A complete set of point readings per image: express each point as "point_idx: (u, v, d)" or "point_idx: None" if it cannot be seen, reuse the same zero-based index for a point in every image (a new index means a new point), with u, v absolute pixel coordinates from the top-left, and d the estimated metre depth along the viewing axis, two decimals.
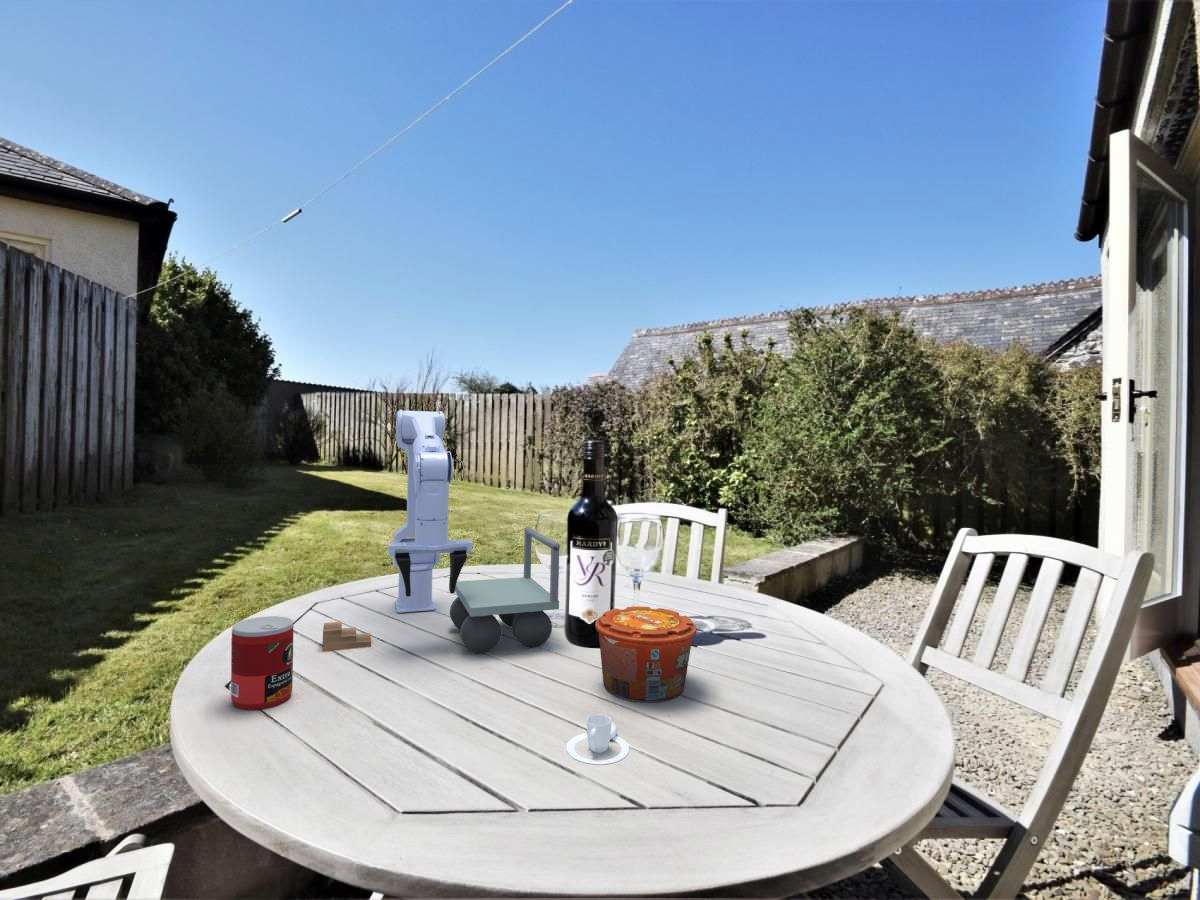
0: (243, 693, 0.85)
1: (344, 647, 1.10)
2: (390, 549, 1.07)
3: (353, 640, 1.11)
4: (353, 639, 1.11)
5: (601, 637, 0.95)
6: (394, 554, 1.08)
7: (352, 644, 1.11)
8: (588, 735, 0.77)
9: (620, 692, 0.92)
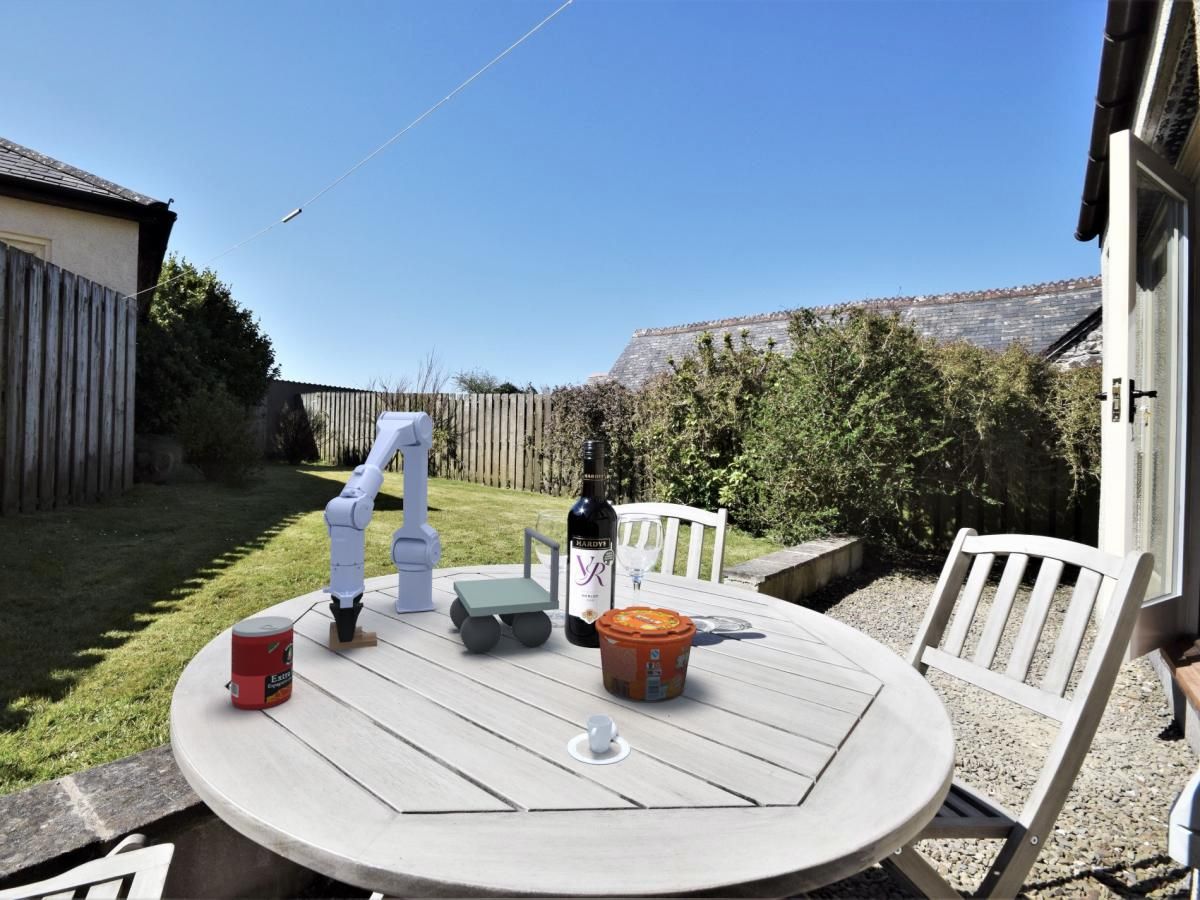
0: (243, 693, 0.85)
1: (350, 646, 1.11)
2: None
3: (359, 639, 1.11)
4: (359, 638, 1.11)
5: (601, 637, 0.95)
6: None
7: (358, 643, 1.11)
8: (589, 735, 0.77)
9: (620, 692, 0.92)
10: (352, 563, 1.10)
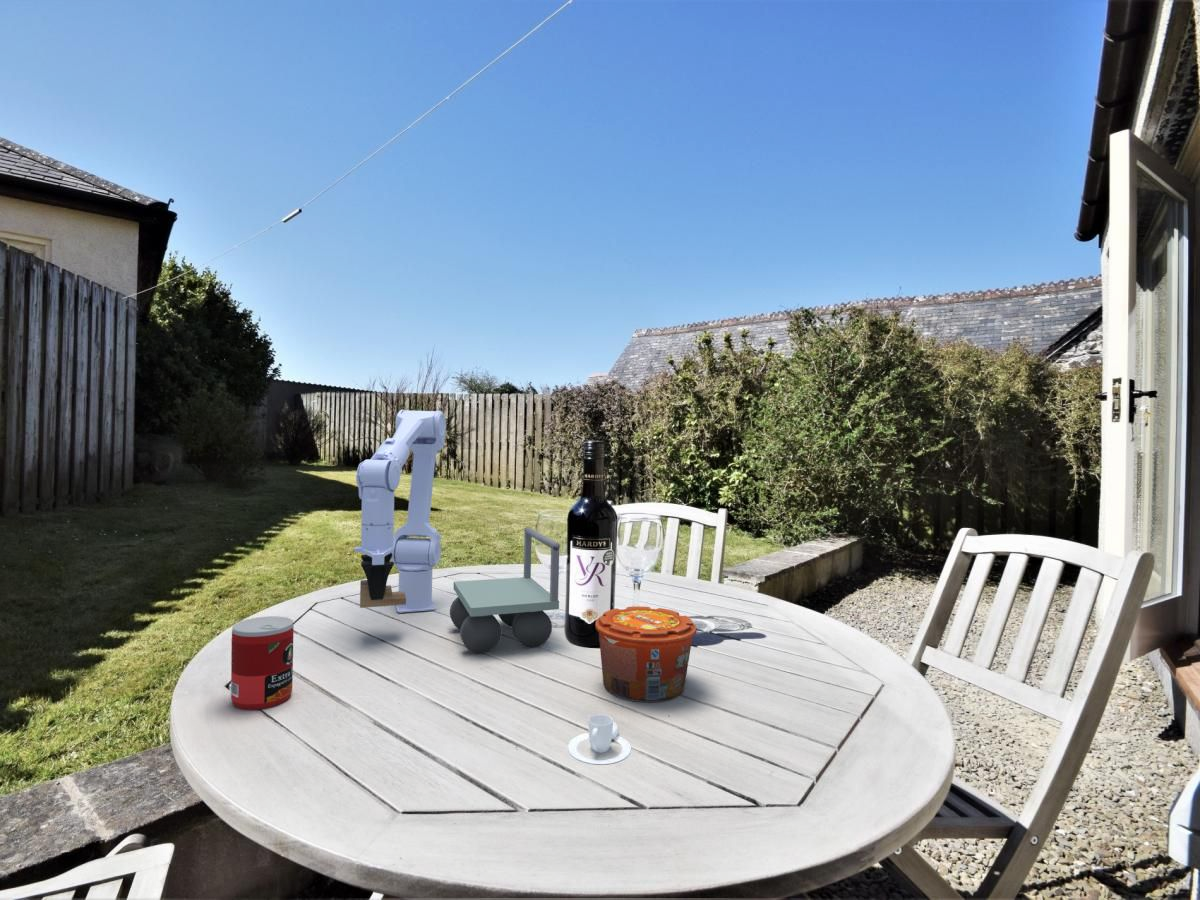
0: (243, 693, 0.85)
1: (380, 603, 1.14)
2: None
3: (389, 596, 1.14)
4: (389, 595, 1.14)
5: (601, 637, 0.95)
6: None
7: (388, 600, 1.14)
8: (590, 735, 0.77)
9: (620, 692, 0.92)
10: (385, 523, 1.13)
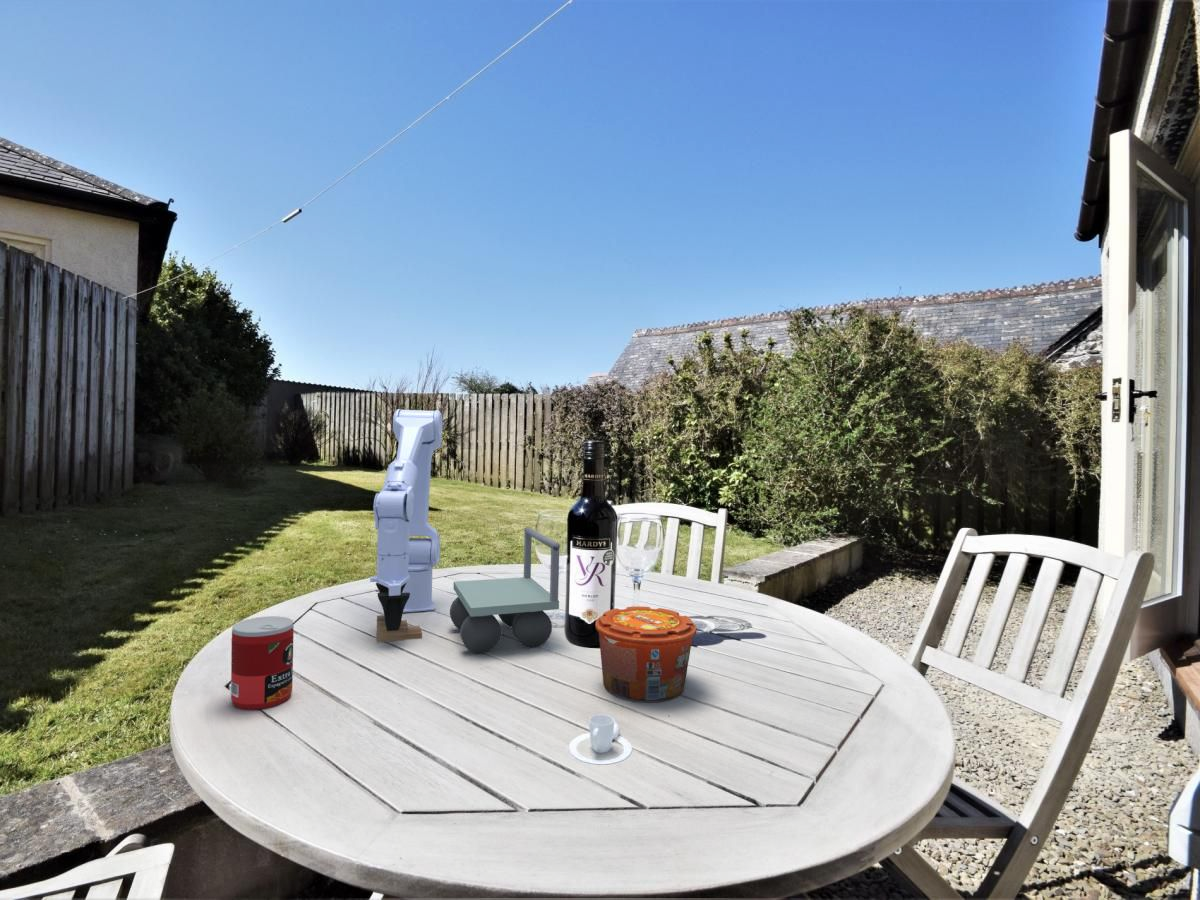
0: (243, 693, 0.85)
1: (397, 638, 1.16)
2: None
3: (405, 632, 1.16)
4: (405, 631, 1.16)
5: (601, 637, 0.95)
6: None
7: (404, 635, 1.16)
8: (591, 735, 0.77)
9: (620, 692, 0.92)
10: (402, 553, 1.15)
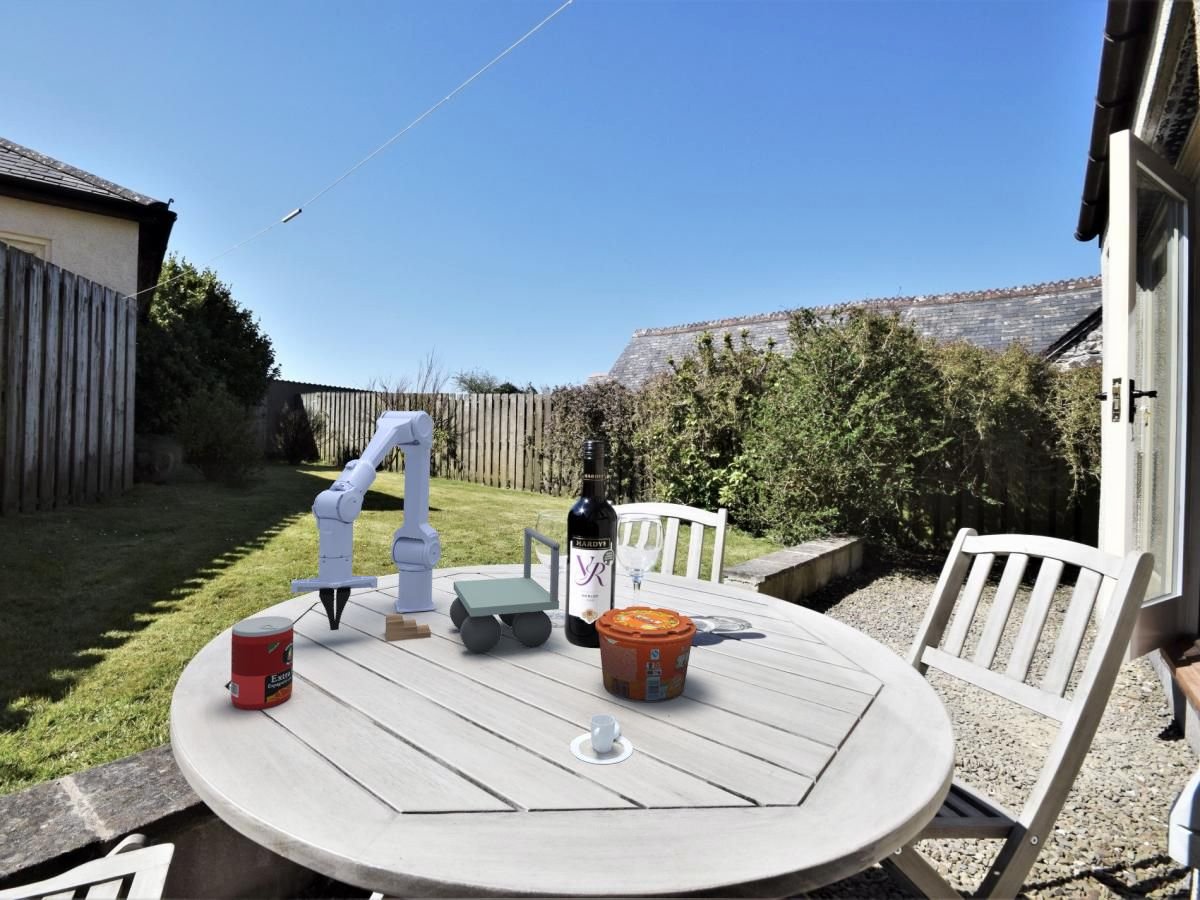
0: (243, 693, 0.85)
1: (406, 637, 1.16)
2: (292, 586, 1.10)
3: (414, 631, 1.17)
4: (414, 630, 1.17)
5: (601, 637, 0.95)
6: (296, 591, 1.10)
7: (413, 634, 1.17)
8: (592, 735, 0.77)
9: (620, 692, 0.92)
10: (338, 555, 1.11)
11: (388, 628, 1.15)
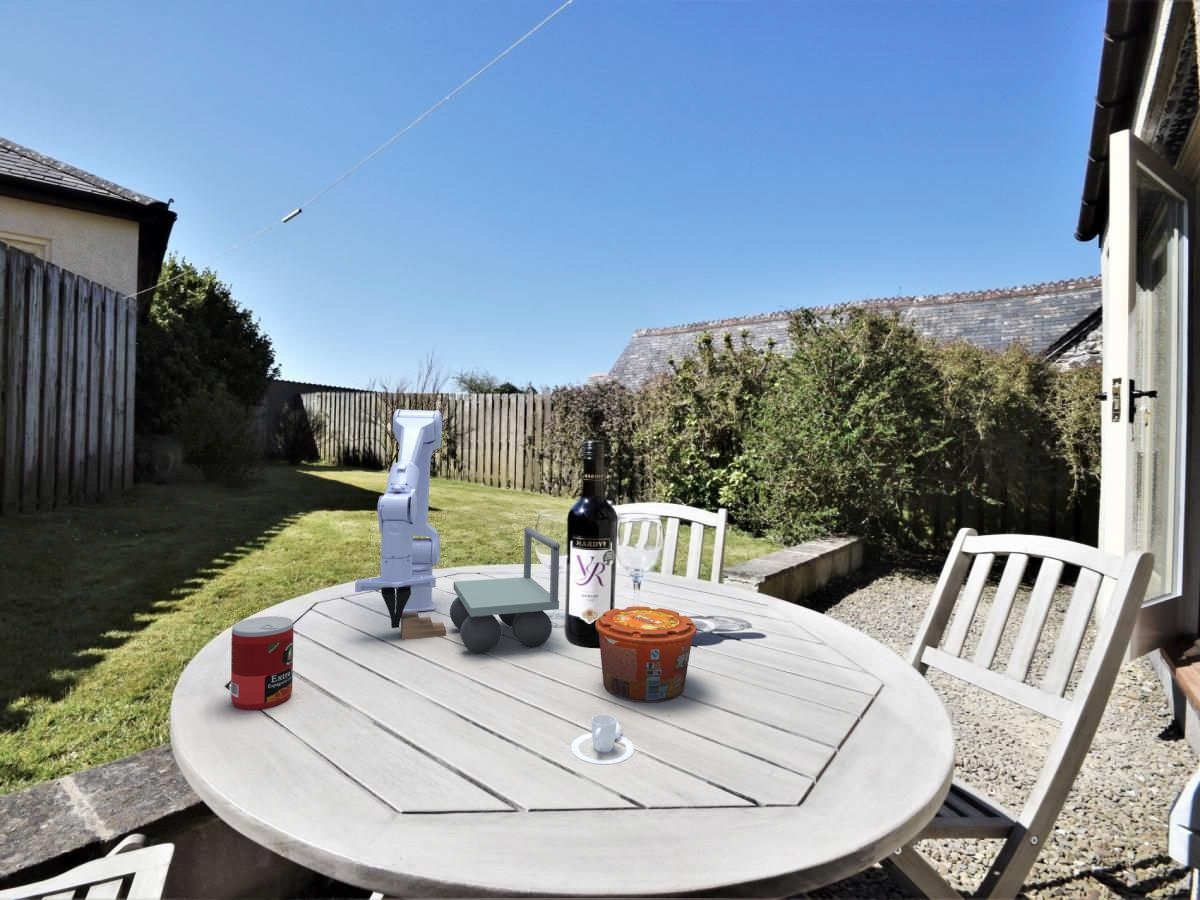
0: (243, 693, 0.85)
1: (422, 635, 1.17)
2: (356, 586, 1.14)
3: (430, 628, 1.18)
4: (430, 627, 1.18)
5: (601, 637, 0.95)
6: (360, 590, 1.14)
7: (429, 632, 1.18)
8: (593, 735, 0.77)
9: (620, 692, 0.92)
10: (406, 555, 1.16)
11: (404, 626, 1.16)
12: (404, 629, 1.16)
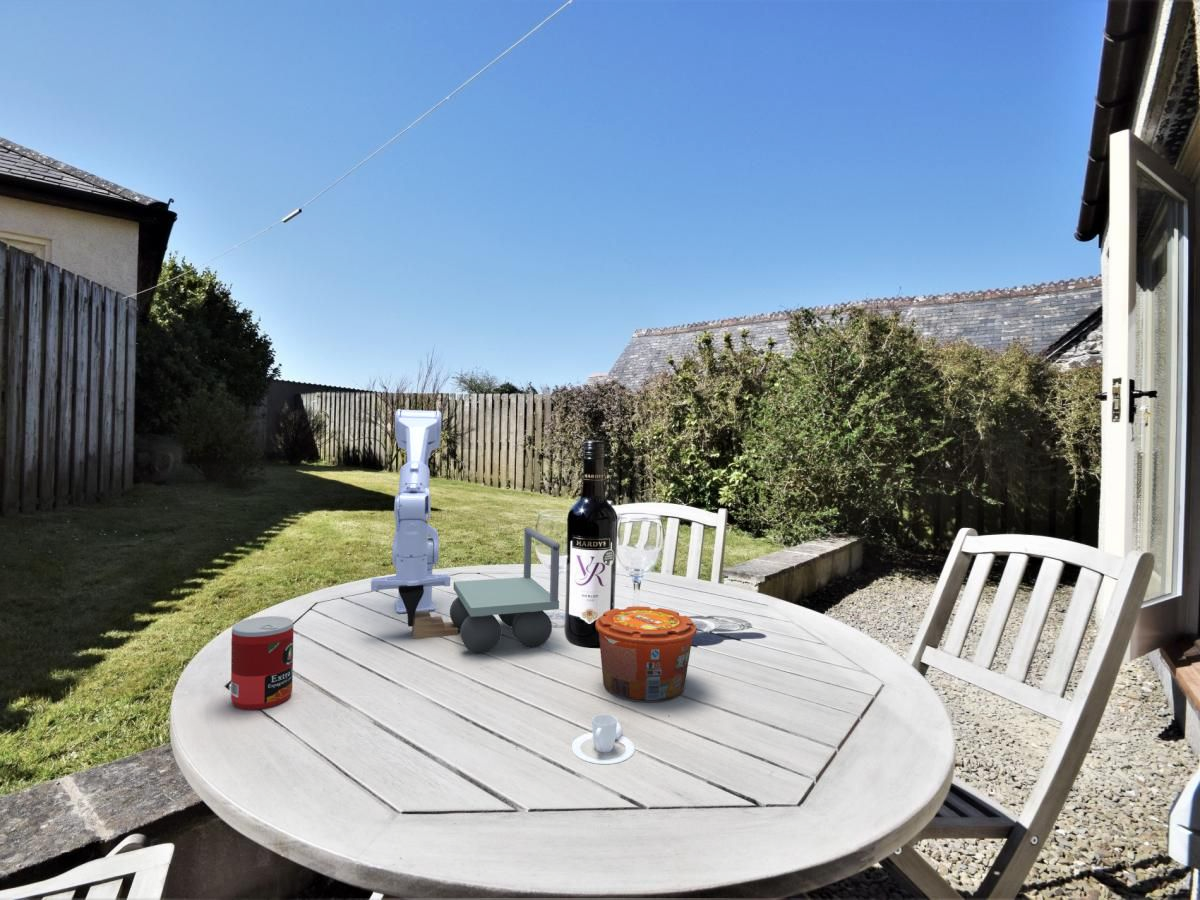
0: (243, 693, 0.85)
1: (433, 634, 1.18)
2: (372, 584, 1.15)
3: (441, 627, 1.18)
4: (441, 627, 1.18)
5: (601, 637, 0.95)
6: (376, 589, 1.15)
7: (440, 631, 1.18)
8: (593, 735, 0.77)
9: (620, 692, 0.92)
10: (423, 554, 1.17)
11: (416, 624, 1.17)
12: (416, 628, 1.17)
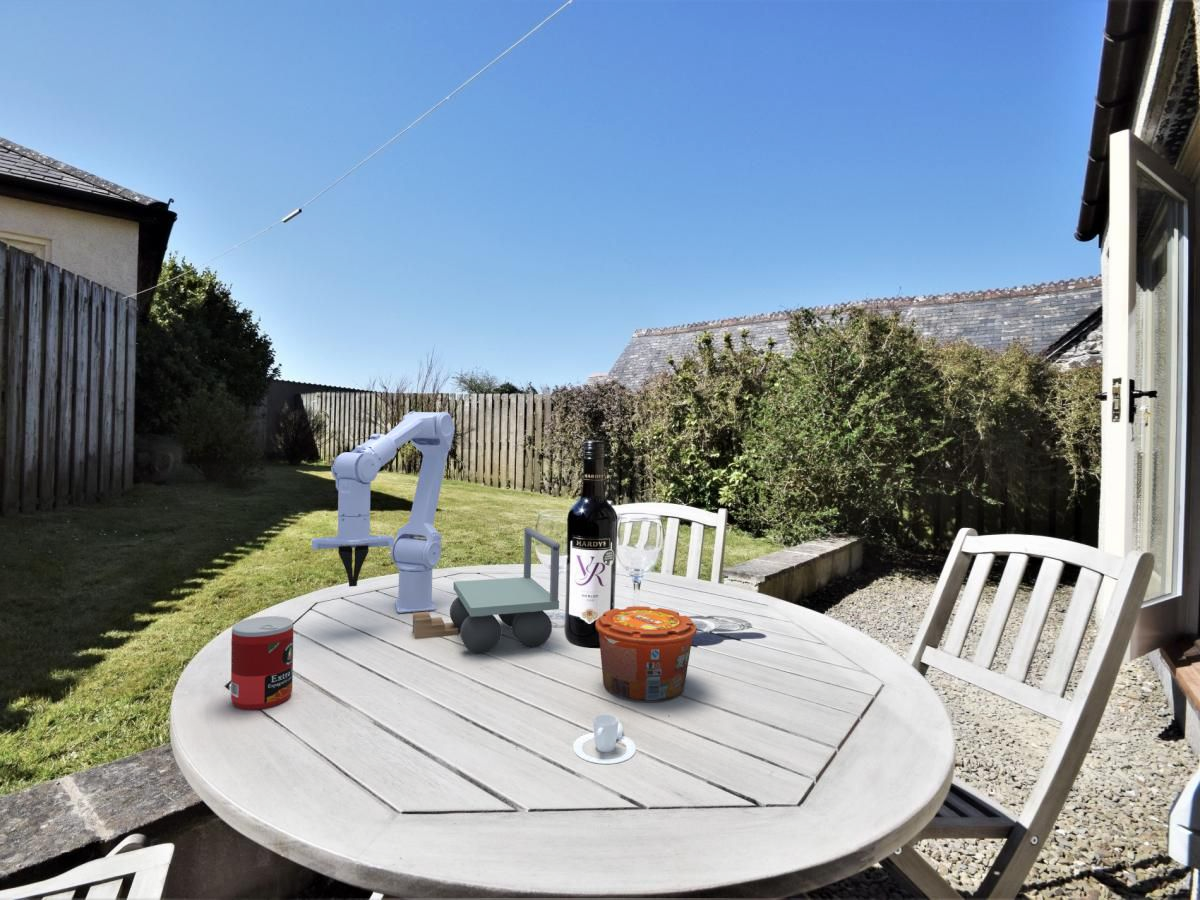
0: (243, 693, 0.85)
1: (434, 635, 1.18)
2: (313, 543, 1.15)
3: (442, 629, 1.18)
4: (442, 628, 1.18)
5: (601, 637, 0.95)
6: (317, 548, 1.15)
7: (441, 632, 1.18)
8: (595, 734, 0.77)
9: (620, 692, 0.92)
10: (357, 514, 1.16)
11: (416, 626, 1.17)
12: (416, 629, 1.17)
